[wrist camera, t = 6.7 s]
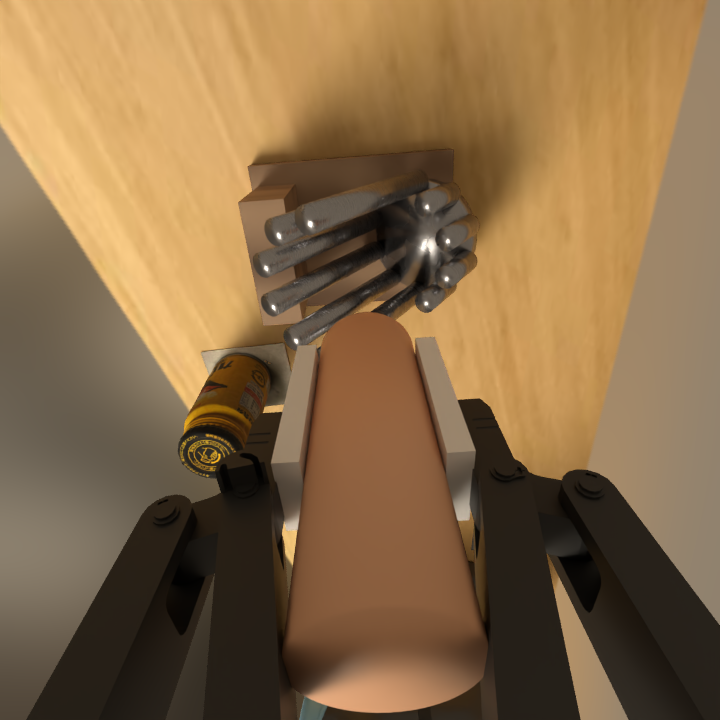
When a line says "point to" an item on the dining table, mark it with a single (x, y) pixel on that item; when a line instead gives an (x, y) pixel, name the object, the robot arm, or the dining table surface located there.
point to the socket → (372, 250)
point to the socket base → (313, 182)
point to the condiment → (232, 403)
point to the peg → (378, 539)
